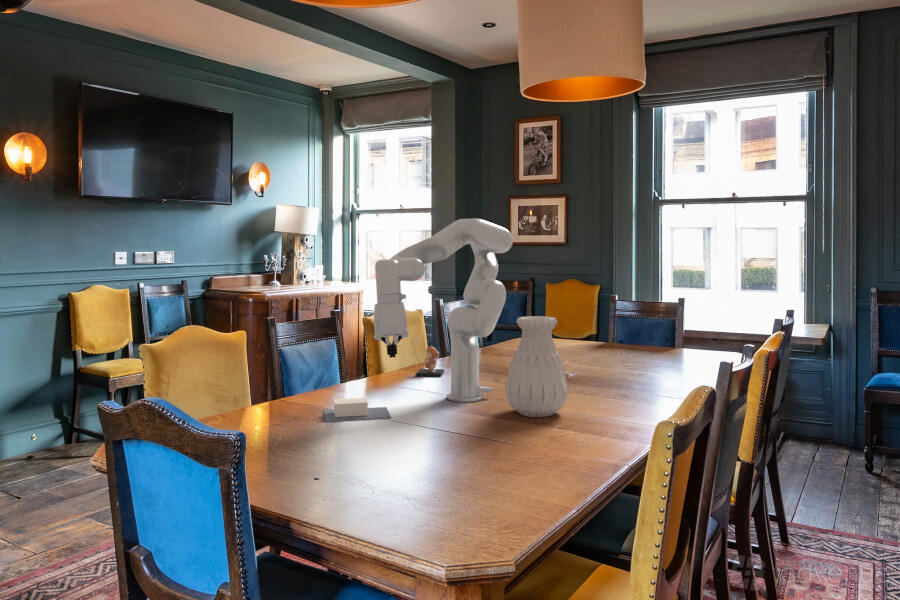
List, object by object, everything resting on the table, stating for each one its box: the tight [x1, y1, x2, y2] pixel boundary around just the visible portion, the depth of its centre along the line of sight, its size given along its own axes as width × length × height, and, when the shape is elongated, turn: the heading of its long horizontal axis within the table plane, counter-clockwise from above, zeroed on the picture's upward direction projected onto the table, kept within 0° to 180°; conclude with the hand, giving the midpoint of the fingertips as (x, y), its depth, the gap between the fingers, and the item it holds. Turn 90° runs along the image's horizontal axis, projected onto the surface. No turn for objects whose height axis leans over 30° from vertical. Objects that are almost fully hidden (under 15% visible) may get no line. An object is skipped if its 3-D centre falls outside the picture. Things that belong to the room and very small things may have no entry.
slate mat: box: [323, 406, 392, 423], centre depth 216 cm, size 20×14×1 cm
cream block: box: [333, 397, 369, 417], centre depth 216 cm, size 4×7×10 cm
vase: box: [504, 315, 569, 418], centre depth 216 cm, size 20×20×30 cm
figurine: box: [415, 345, 445, 378], centre depth 282 cm, size 10×10×12 cm
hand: (392, 356), depth 218 cm, fingers closed
